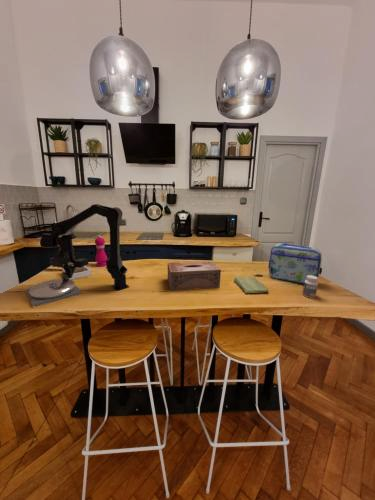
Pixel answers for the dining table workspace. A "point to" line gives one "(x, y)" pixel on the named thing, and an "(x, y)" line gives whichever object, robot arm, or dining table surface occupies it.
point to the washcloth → (250, 285)
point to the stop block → (78, 269)
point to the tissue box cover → (193, 275)
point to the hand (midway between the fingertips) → (70, 278)
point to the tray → (81, 273)
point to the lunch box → (294, 262)
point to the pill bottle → (310, 286)
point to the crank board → (43, 301)
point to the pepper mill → (100, 252)
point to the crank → (52, 288)
